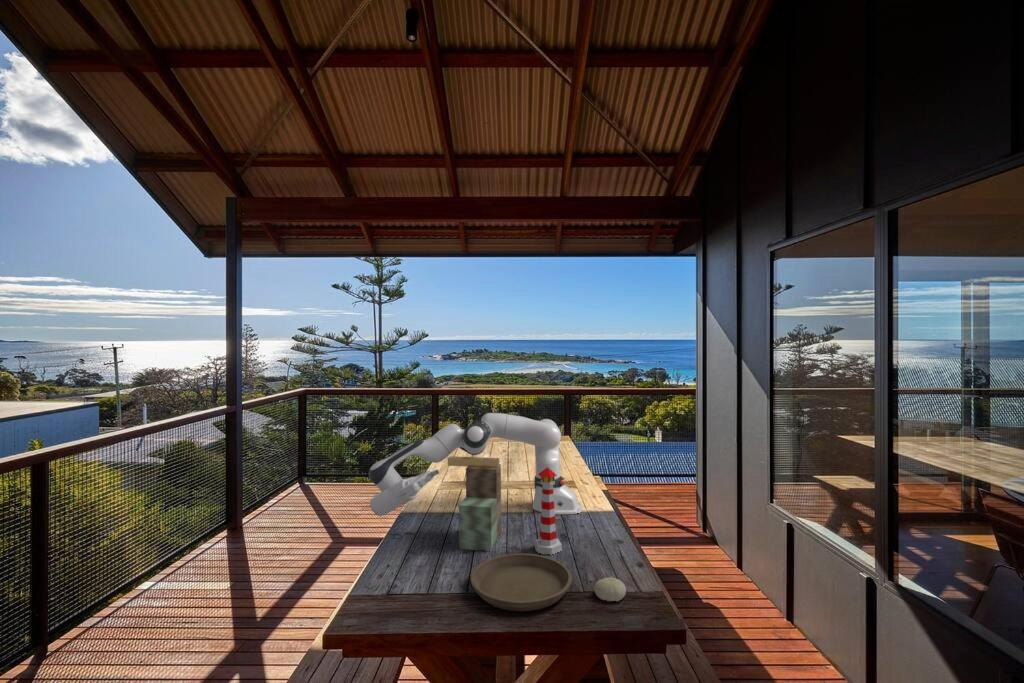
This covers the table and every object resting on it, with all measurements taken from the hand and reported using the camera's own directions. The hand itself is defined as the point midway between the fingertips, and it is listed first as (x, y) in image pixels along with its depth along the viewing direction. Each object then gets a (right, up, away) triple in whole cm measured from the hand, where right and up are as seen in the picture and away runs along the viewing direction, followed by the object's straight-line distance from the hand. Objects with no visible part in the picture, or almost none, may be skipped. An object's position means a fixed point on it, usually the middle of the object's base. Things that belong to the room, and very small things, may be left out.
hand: (434, 474), depth 204 cm
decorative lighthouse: (+44, -23, -17) cm, 52 cm away
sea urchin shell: (+60, -24, -50) cm, 82 cm away
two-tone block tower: (+19, -23, -8) cm, 31 cm away
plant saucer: (+34, -24, -45) cm, 61 cm away
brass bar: (+16, +4, -3) cm, 16 cm away
